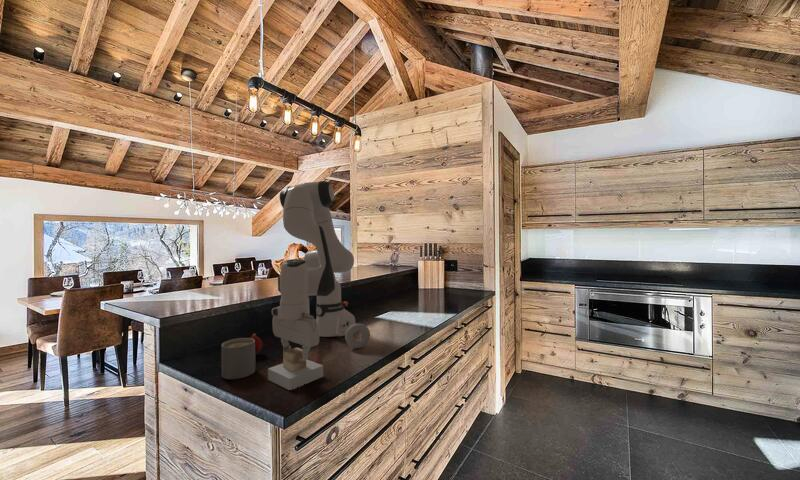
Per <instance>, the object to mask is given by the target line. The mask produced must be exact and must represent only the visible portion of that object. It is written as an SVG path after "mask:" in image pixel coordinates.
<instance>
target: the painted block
mask: <svg viewBox="0 0 800 480" xmlns="http://www.w3.org/2000/svg"><path fill="white" fill-rule="evenodd" d="M323 377H324V365H323V364H320V363H317V362H315V361H312V360H309V359H308V358H307V359H306V367H303V368H301V369H298V370H295V371H290V370H288V369H285V368H283V362H282V363H280V364H277V365H274V366H272V367H269V368H267V381H270V382H271V383H273V384H276V385H277V386H280V387H282V388H284V389H286V390H288V391H289V390H291V391H292V389H293V390H296V389H297V387H298V388H300V387H303V386H305V385H306V384H309V383H311V382H313V381H316V380H319V379H321V378H323ZM304 384H305V385H304Z"/></svg>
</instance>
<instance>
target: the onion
mask: <svg viewBox="0 0 800 480" xmlns="http://www.w3.org/2000/svg"><path fill="white" fill-rule="evenodd" d="M250 338H252V339H254V340H255V356H256V355H257V354H258V353H259V352H260V351H261V350H262V349H263V341H262V339H261V338H260V337H259V336H257V334H256V333H253V334H252V335H251V336H250Z"/></svg>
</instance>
